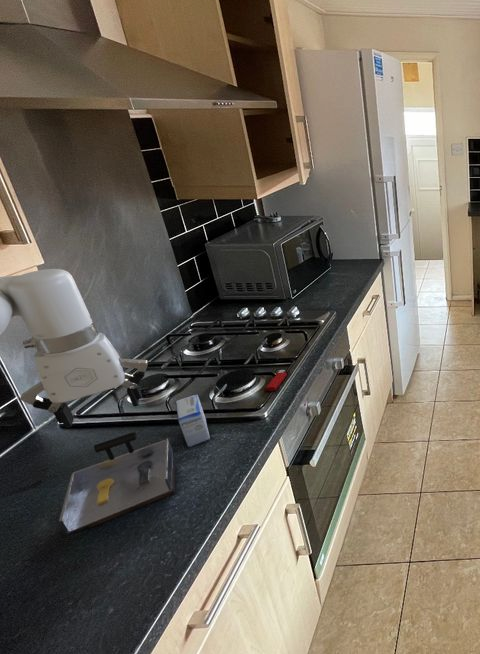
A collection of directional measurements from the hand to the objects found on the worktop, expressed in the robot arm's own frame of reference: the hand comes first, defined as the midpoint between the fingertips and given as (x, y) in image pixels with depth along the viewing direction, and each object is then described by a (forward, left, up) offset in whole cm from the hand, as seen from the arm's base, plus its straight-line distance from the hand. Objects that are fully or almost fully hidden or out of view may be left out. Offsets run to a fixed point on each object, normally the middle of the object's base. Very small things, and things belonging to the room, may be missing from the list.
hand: (104, 412), depth 81 cm
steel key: (+3, -5, -14) cm, 15 cm away
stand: (0, -4, -19) cm, 20 cm away
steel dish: (0, -7, -14) cm, 16 cm away
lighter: (+30, +20, -19) cm, 41 cm away
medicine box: (+11, +9, -19) cm, 24 cm away
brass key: (-3, -6, -14) cm, 15 cm away
